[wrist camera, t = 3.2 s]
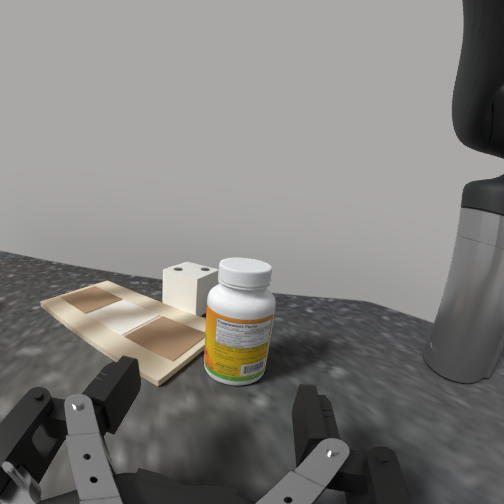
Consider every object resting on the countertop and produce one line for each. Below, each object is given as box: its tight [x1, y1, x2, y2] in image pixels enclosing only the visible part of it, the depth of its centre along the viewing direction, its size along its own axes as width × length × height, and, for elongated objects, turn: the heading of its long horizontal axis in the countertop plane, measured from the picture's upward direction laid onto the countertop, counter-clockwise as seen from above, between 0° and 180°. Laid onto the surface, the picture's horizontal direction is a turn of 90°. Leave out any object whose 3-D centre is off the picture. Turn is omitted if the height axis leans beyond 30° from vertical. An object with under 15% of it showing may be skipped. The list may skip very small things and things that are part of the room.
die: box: [163, 262, 219, 316], centre depth 34 cm, size 5×5×5 cm
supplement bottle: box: [204, 258, 276, 386], centre depth 22 cm, size 5×5×10 cm
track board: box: [41, 281, 206, 387], centre depth 28 cm, size 20×12×1 cm, turn 67°
